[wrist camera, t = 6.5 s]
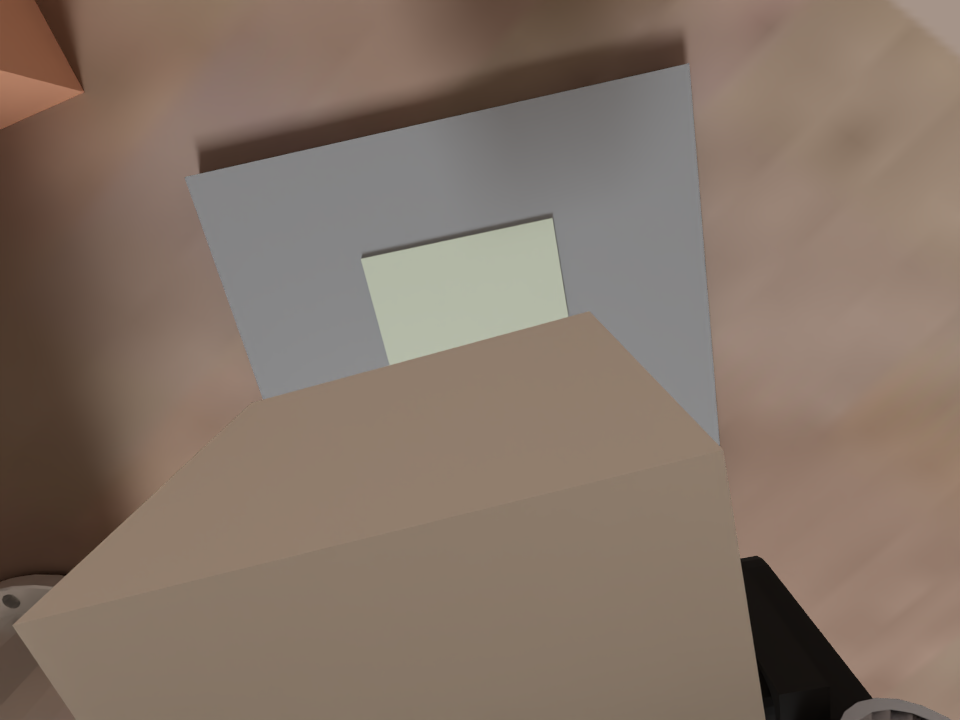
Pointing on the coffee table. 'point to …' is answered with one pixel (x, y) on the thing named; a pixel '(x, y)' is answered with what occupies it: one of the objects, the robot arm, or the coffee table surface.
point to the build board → (474, 238)
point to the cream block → (425, 555)
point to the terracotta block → (30, 64)
